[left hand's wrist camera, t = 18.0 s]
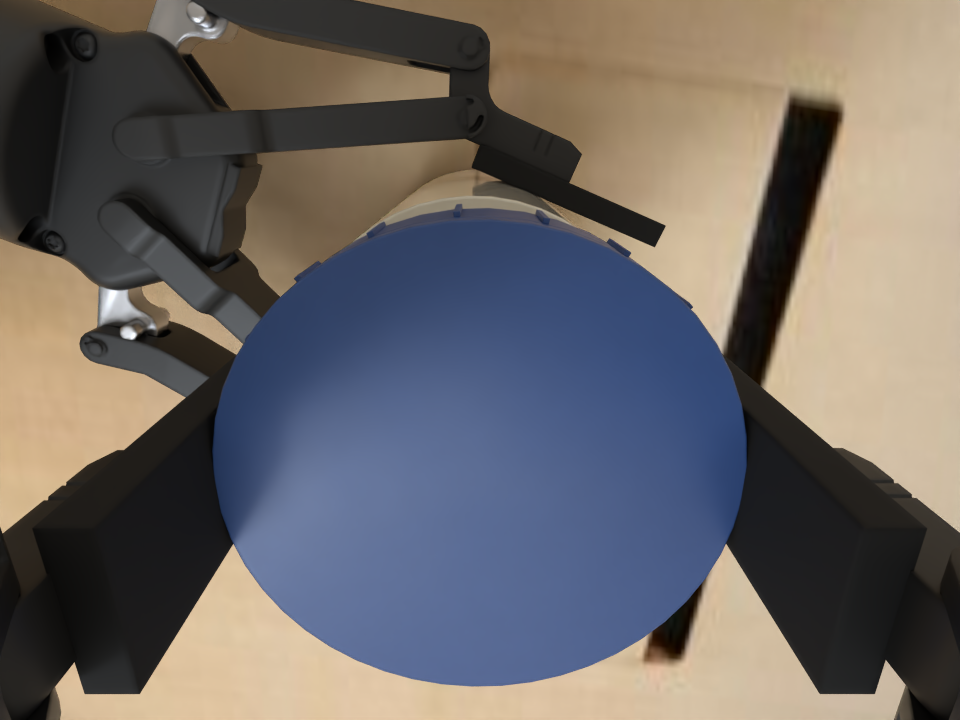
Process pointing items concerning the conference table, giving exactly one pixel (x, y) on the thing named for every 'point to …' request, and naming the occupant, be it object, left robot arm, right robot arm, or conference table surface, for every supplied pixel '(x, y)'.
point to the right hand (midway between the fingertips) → (587, 349)
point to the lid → (479, 449)
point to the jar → (468, 198)
